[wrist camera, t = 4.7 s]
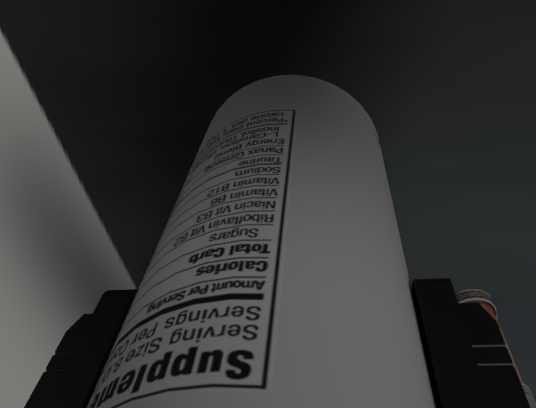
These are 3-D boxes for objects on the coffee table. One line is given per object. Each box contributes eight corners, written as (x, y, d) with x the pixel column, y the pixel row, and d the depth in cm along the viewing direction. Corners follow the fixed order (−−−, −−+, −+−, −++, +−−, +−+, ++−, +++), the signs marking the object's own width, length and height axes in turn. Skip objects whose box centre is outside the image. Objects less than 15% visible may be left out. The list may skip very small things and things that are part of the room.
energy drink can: (286, 240, 20) (235, 816, 8) (176, 139, 18) (-131, 712, 6) (411, 154, 18) (626, 814, 5) (299, 25, 16) (221, 622, 3)
